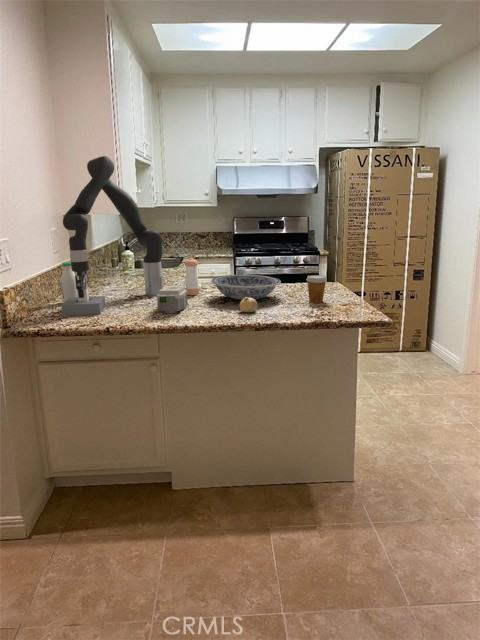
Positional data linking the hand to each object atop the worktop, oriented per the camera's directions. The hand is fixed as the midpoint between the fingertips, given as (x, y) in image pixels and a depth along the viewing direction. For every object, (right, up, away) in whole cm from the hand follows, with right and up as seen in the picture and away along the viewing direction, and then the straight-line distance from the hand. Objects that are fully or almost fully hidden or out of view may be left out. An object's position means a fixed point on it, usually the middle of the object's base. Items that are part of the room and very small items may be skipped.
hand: (83, 295), depth 207 cm
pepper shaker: (+46, +2, +34) cm, 57 cm away
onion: (+75, -8, -5) cm, 75 cm away
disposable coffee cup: (+107, -2, +13) cm, 108 cm away
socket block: (0, -7, +2) cm, 7 cm away
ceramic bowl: (+74, -1, +21) cm, 77 cm away
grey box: (+40, -6, +3) cm, 41 cm away
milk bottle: (-13, -3, +20) cm, 24 cm away
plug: (0, -7, +2) cm, 7 cm away
